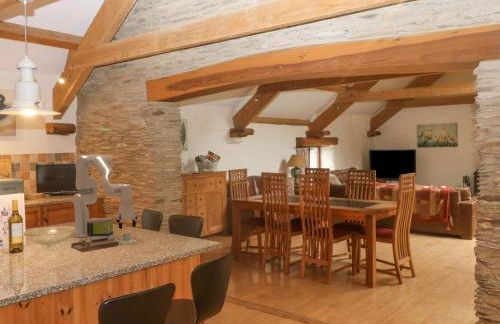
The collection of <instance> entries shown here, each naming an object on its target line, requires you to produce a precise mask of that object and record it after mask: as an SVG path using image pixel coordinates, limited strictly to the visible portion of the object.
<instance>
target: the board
mask: <svg viewBox="0 0 500 324" xmlns="http://www.w3.org/2000/svg"><path fill="white" fill-rule="evenodd" d="M79 240H80V241H77V242H72V243H71V247H70V248H72V249H74V250H77V251H79V252H81V253H84V252H90V251H96V250H101V249H102V248H103V249H108V247H109V248H114V246H115V247H119V245H120V244H119V242H114V241H112V240H110V241H109V240H108V238H102V239H96V240H87V238H86V237H82V238H79Z"/></svg>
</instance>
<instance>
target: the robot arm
mask: <svg viewBox="0 0 500 324" xmlns="http://www.w3.org/2000/svg"><path fill="white" fill-rule="evenodd" d="M113 164H114V161H113V158H112V156H110V155H109V154H108V155H105V154H81V155H78V157H77V158H76V159H75V171H76V172H75V173H76V174H75V188H76V189H77V191H80V192H77V193H75V194H74V195H73V196H72V203H73V207H74V223H75V224H74V227H75V228H74V230H75V233H73V234H72V236H73V237H74V238H86V237H87V220H89V219H90V210H89V207H87V205H93V204H95V203H96V202H97V200H98V187H99V184H98V181H97V178H96V177H94V176H90V174H89V169H88V167H89V168H90V167H94V168H95V170H96V171H97V172H98V174H99V175H100V177H101V179H100V184H101V188H102V189H103V190H104V193H106V194H107V195H108V196H110V197H111V196H119V197H120V199H119V200H120V204H119V207H118V214H117V215H116V216H114V219H115V222H117V223H118V228H119V229H120V230H122V229H123V223H122V222H123V221H124V220H125V221H127V220H132V221H131V222H132V224H131V227H132V228H133V227H134V228H135V227H136V225H137V219H138V218H139V215H140V214H139V213H137V212H135V206H134V204H133V203H134V199H133V190H132V188H133V187H132V185H131V183H130V184H129V183H125V184H124V183H113V184H111V182H110V180H109V178H110V177H111V176H112V175H113V173H114V171H113V169H112V166H113Z"/></svg>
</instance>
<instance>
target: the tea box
mask: <svg viewBox="0 0 500 324" xmlns="http://www.w3.org/2000/svg"><path fill="white" fill-rule="evenodd" d="M113 220H114V219H113V217H101V218H100V217H99V218H98V217H95V218H94V217H93V218H89V220H87V238H86V239H87V240H96V239H102V238H108V240H110V241H112V240H114V223H113V222H114V221H113ZM87 240H86V241H87Z"/></svg>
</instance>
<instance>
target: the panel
mask: <svg viewBox="0 0 500 324" xmlns="http://www.w3.org/2000/svg"><path fill="white" fill-rule="evenodd" d="M113 242H119V245H122V246H125V245H131V244H137V243H138V241H137V240H136V239H133V238H132V234H131V233H123V234H122V238H115V239H113Z"/></svg>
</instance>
